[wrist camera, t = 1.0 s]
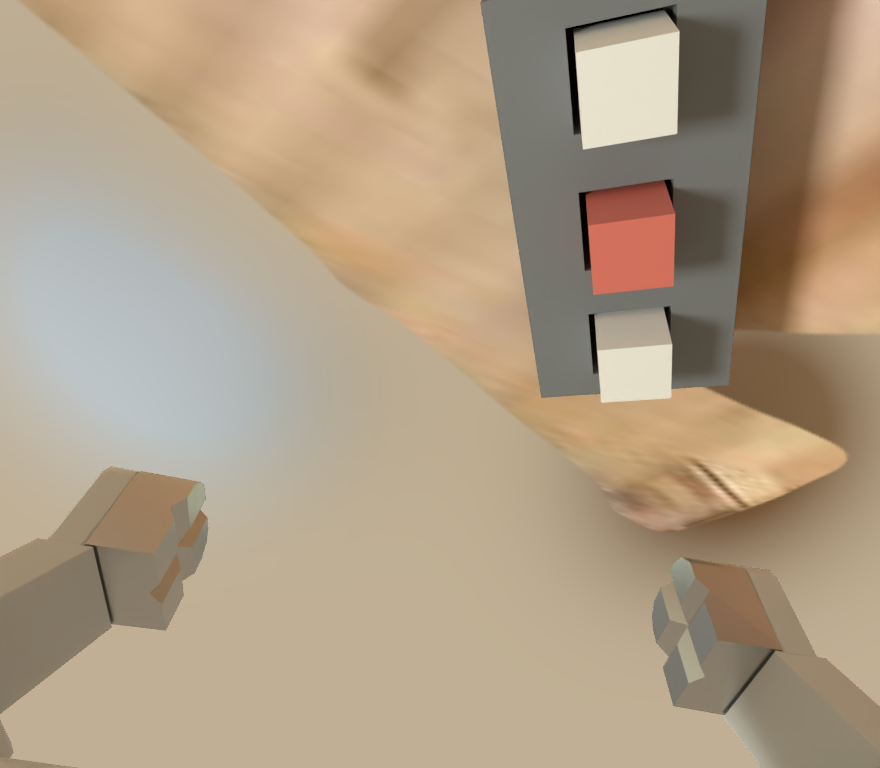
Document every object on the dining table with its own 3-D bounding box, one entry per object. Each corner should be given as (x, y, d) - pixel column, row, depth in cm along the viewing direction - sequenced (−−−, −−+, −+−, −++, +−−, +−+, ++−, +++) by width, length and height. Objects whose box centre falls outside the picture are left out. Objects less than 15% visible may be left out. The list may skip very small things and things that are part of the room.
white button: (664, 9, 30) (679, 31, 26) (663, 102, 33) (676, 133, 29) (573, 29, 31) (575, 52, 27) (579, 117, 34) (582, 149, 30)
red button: (662, 175, 35) (675, 213, 31) (661, 244, 38) (673, 286, 34) (585, 187, 36) (588, 225, 33) (589, 253, 39) (593, 294, 35)
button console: (746, -76, 30) (773, -67, 26) (714, 342, 46) (728, 384, 42) (488, -14, 33) (480, 2, 30) (542, 357, 49) (541, 397, 46)
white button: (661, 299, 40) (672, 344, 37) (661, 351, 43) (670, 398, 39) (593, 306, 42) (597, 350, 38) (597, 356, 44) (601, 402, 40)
